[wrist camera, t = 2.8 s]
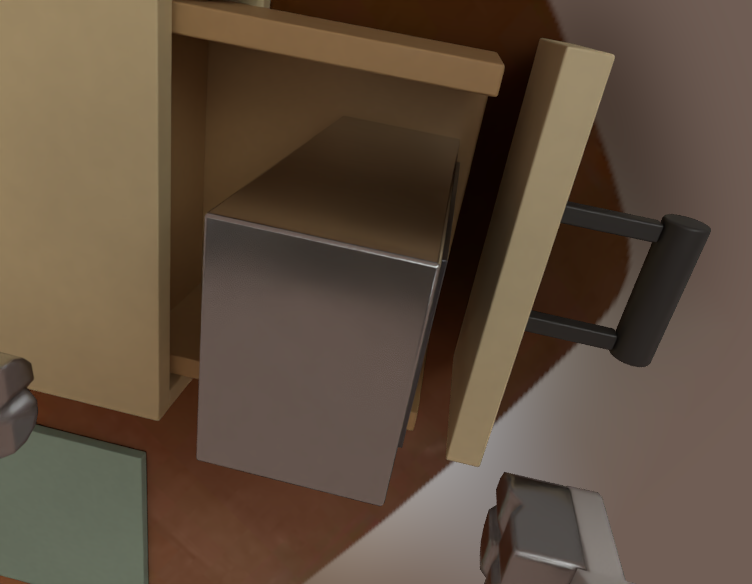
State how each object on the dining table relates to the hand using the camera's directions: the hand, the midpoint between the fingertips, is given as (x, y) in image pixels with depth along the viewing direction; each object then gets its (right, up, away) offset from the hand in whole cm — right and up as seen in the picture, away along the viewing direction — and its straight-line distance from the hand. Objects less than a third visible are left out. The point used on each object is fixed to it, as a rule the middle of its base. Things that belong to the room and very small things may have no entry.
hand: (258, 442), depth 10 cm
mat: (-22, -11, +27) cm, 36 cm away
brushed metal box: (+2, +6, +13) cm, 14 cm away
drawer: (+4, +6, +13) cm, 15 cm away
